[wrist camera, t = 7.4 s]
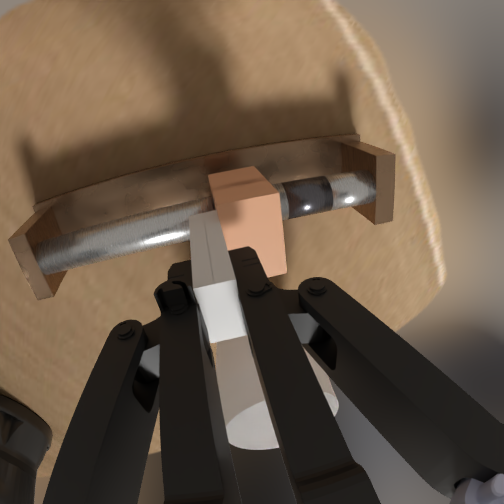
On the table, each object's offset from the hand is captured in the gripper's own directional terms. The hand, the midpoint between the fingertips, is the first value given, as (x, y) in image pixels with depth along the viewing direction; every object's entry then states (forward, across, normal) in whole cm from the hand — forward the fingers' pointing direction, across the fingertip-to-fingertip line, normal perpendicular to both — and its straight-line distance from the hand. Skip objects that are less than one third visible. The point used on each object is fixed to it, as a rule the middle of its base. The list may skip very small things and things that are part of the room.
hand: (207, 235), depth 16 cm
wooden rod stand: (+7, 0, 0) cm, 7 cm away
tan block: (+4, +2, 0) cm, 5 cm away
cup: (+8, +2, -14) cm, 16 cm away
